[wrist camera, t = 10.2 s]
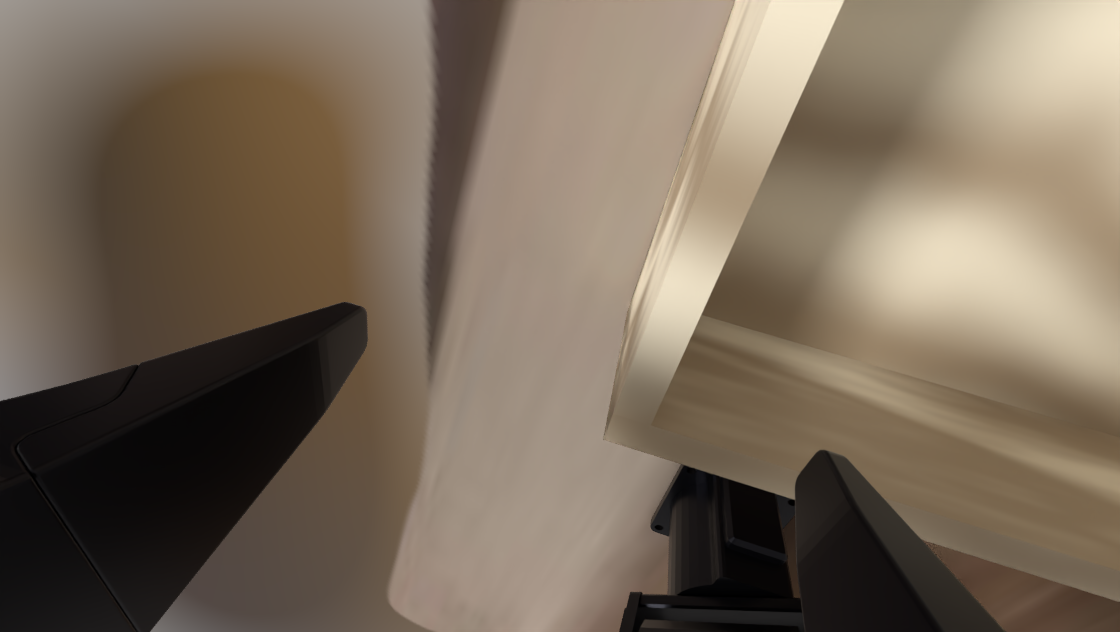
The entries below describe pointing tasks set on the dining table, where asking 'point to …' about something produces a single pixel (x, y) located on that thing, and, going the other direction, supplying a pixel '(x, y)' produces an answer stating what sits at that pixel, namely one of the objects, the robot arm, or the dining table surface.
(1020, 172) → the birch crate
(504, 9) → the dining table surface
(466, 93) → the dining table surface
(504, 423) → the dining table surface
